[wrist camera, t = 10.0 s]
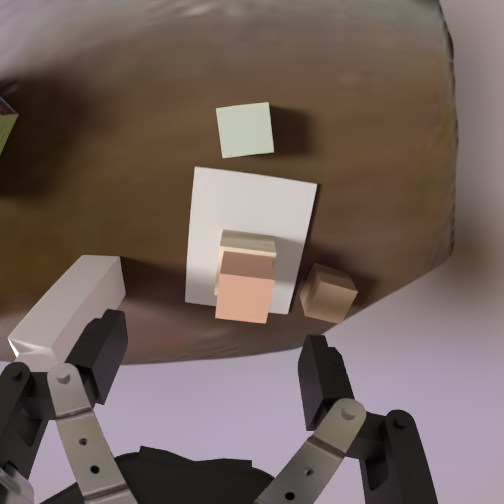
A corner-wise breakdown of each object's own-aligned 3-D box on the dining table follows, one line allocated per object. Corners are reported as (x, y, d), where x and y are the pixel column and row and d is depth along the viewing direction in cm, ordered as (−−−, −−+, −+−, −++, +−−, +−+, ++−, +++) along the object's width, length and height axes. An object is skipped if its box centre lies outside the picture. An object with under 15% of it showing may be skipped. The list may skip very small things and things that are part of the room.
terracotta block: (223, 250, 33) (219, 273, 28) (271, 256, 33) (274, 280, 28) (219, 291, 35) (215, 317, 30) (263, 296, 35) (265, 323, 30)
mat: (195, 166, 34) (195, 166, 34) (316, 183, 35) (317, 184, 35) (185, 299, 42) (185, 302, 41) (287, 311, 43) (287, 314, 42)
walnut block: (313, 262, 40) (321, 281, 35) (347, 272, 40) (358, 291, 36) (299, 294, 42) (305, 315, 37) (331, 302, 42) (340, 324, 38)
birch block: (222, 229, 37) (219, 245, 32) (273, 235, 37) (276, 253, 33) (217, 273, 39) (214, 294, 35) (264, 279, 40) (266, 300, 35)
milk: (90, 291, 41) (15, 401, 21) (82, 253, 39) (-11, 357, 19) (127, 294, 41) (61, 417, 21) (120, 255, 39) (35, 372, 19)
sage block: (220, 110, 32) (216, 108, 27) (265, 104, 32) (268, 102, 27) (226, 152, 34) (222, 158, 29) (270, 147, 34) (274, 152, 29)
